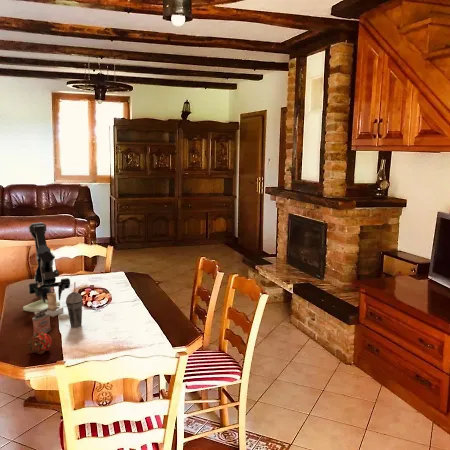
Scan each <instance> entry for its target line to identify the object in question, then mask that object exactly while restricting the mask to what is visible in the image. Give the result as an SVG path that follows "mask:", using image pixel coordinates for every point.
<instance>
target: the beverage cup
mask: <svg viewBox="0 0 450 450" xmlns="http://www.w3.org/2000/svg"><path fill="white" fill-rule="evenodd" d="M83 301H84V300H83V297H82V295H81V294H80V293H79V292H77V291H76V281H74V283H73V292H70V293H69V294H68V295H67V296H66V299H65V304H66V309H67V313H68V318H69V324H70V328H72V329H80V328H82V321H83V320H82V319H83V318H82V317H83Z"/></svg>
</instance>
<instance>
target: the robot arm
mask: <svg viewBox="0 0 450 450" xmlns="http://www.w3.org/2000/svg"><path fill="white" fill-rule="evenodd" d="M28 231H29V233H30V235H31V238H33V240H34V245H35V259H36V262H37V268H36V270H35V274H34V277H33V278H34V279H33V280H34V282H31V283H29V284H28V294H29V295H30V294H31V295H32V294H35V296H36V297H40V300H41V299H42V300H43V301H44V303H45V300H46V299H45V297H47V293H50V292H52V288H57V287H58V288H57V289H58V291H57V292H58V293H57V294H58V295H57V296H58V300H59V301H61V297H62V292H63V291H65V289H66V290H67V289H69V288H70V286H71V279H70V278H68V277H67V278H61V279H60V281H58V282H56V281H57V280H56V278H58V277H59V276H60V273H59V271H60V270H59V269H53V268H54V267H53V266H54V260H55V259H56V258H55V257H56V256H55V255H54V254H53V252H52V251H51V248H50V247H49V246H47V245H48V244H47V240H46V232H47V231H48V230H47V224H46V223H44V222H41V221H40V222H32V223H30V225H28Z"/></svg>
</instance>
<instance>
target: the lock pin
mask: <svg viewBox="0 0 450 450" xmlns="http://www.w3.org/2000/svg"><path fill="white" fill-rule="evenodd" d="M46 297H47V298H46V300H47V301H48V310H50V311H54V310H56V309H57V302H58V301H57V292H55V291H53V292H52V291H51V292H50V293H47V296H46Z"/></svg>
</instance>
